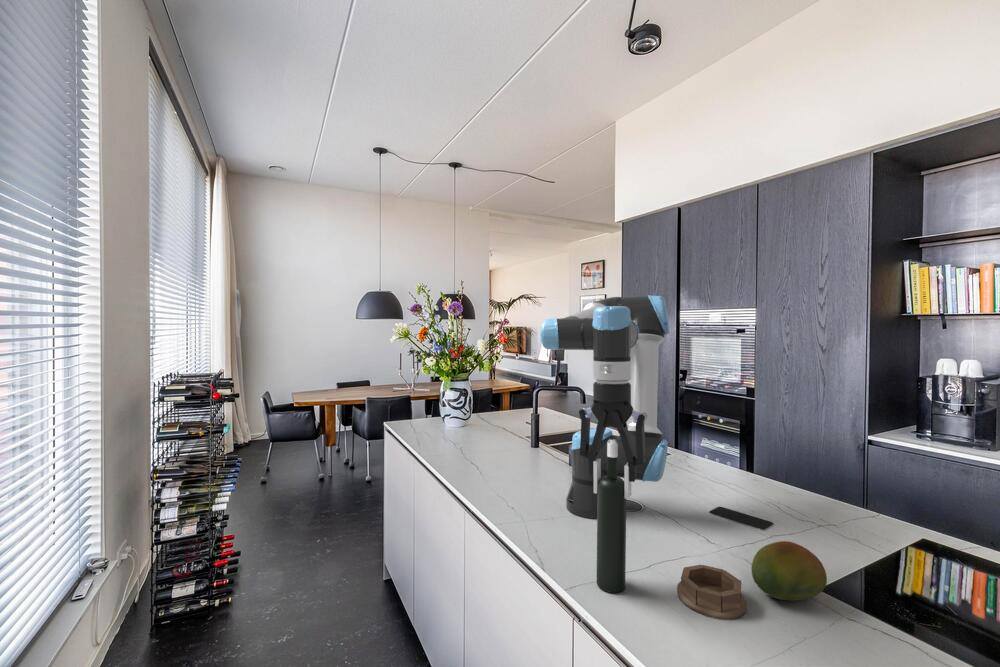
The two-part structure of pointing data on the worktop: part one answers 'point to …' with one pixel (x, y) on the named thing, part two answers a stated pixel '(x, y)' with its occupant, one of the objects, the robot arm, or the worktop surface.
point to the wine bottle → (611, 526)
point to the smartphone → (742, 518)
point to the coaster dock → (711, 592)
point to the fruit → (788, 571)
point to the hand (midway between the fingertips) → (612, 493)
